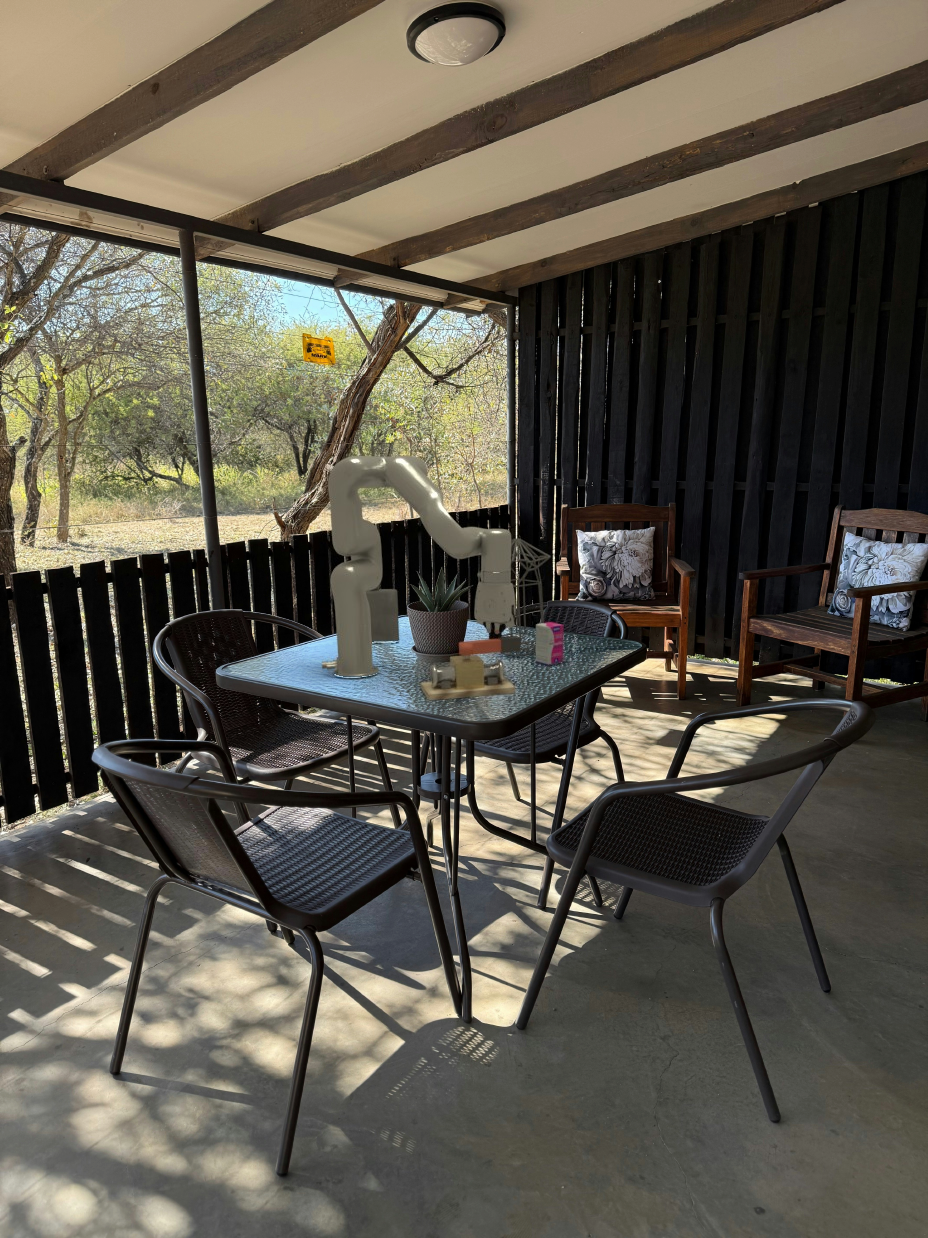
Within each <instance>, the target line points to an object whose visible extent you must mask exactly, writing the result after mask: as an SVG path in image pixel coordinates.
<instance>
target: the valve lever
mask: <svg viewBox="0 0 928 1238" xmlns="http://www.w3.org/2000/svg"><path fill="white" fill-rule="evenodd" d="M520 648H521V647H520V637H519V635H517V636H516V635H513V636H511V635H508V636H503V637H498V639H489V638H488V639H479V640H467V641H460V642H458V654H459V656H463V658H465V659H467V658H470V655H482V654H483V655H484V654H493V653H500V652H501V653H506V654H510V653H516V652H517V653H518V652H519V653H520V652H521V651H522V650H520ZM501 653H500V654H501ZM521 653H522V652H521Z"/></svg>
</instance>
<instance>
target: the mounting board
mask: <svg viewBox="0 0 928 1238" xmlns="http://www.w3.org/2000/svg"><path fill="white" fill-rule="evenodd" d="M450 685H451V689H444V690H441V689H440V687H439V686H437V687H432V685H431V681H426V682H425V681H424V682H420V690H421V691H422V692H423V694H424V695H425V697H426V699H427V700H428V701H437V700H439V701H441V700H450V699H462V698H474V697H475V698H476V697H488V696H498V695H499V696H500V695H508V694H509V695H510V694H516V691H517V690H516V686H515V685H514V684H513V683H512V682H511V681H509V680H508V679H507V678H506V677H505V676H504V680H503V682H498V681H497V685H492V686H488V685H487V684H486V683H485V682H484V688H472V689H460V690H457V689H456V688H455V687H454V686H453V684H452V683H450Z"/></svg>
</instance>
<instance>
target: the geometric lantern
mask: <svg viewBox="0 0 928 1238" xmlns="http://www.w3.org/2000/svg"><path fill="white" fill-rule="evenodd" d="M524 550H525V551H526V553H525V551H524ZM533 550H535V551H536V552H538V553H540V554H542V555H539V556H538V555H537V554H536V553H535V552H534V551H533ZM519 555H522V556H523V558H519ZM528 557H529V558H531V559H532V560H530V559H529V558H528ZM551 557H552V556H551V555H550V554H548V553H545V552H544V551H543V550H540V549H538V548H537V547H535V546H533V545H532V544H530V543H528V542H527V541H525V540H523V539H521V538H517V537H516V538H513V539H511V564H512V563H514V562H518V563H519V565H521V567H523V568H524V569H525V572H524V574H523V575H522V577H521V578H520V577H519V576H518V574H517V573H516V572H515V570H514V569H513V567H511V571H512V572H513V573H514V575H515V576H516V577H517V578H515V579H511V582H513V581H517V582H516V584H517V585H515V584H513V588H516V613H515V632H514V631H513V630H514V629H513V628H514V627H511V628H510V633H509V632H508V633H506V634H502V637H506V636H518V637H520V650H521V651H529V652H526V653H523V654H522V652H519V654H518V652H515V654H510V653H501V652H499V653H500V655H506V656H509V657H516V658H517V657H522V656H528V655H531V654H536V639H534V640H528V641H523V639H524V636H525V635H527V636H531V637H535V638H536V634H533V633H529V632H527V621H526V619H527V618H526V589H525V587H527V586H533V585H534V586H535V585H537V586H538V587H537V588H538V596H539V597H538V599H539V609H540V610H539V611H540V621H541V622H540V624H541V623H545V622H544V619H545V617H544V603H543V601H544V600H543V599H544V598H543V583H542V579H541V574H540V573H541V572H540V569H539V568H540V567H541V566H542V565H543V564H544V563H545V562H547V561H548V560H549V559H550V558H551ZM516 559H517V560H516ZM540 561H541V562H540ZM523 562H524V563H526V564H524V563H523ZM536 562H538V563H537V564H536ZM529 564H530V565H529ZM532 567H533V568H532ZM531 571H534V573H535V576H536V580H530V579H526V576H527V575H528V573H529V572H531ZM537 571H538V572H537ZM521 582H522V584H521ZM525 582H532V583H527V584H525ZM520 587H522V594H523V595H522V599H523V600H522V601H523V602H522V603H523V604H522V605H523V632H522V625H521V609H520V607H521V606H520ZM495 624H496V623H495ZM531 643H535V644H531ZM522 645H526V646H529V647H523V648H521V647H522Z"/></svg>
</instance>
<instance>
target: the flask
mask: <svg viewBox="0 0 928 1238" xmlns="http://www.w3.org/2000/svg"><path fill="white" fill-rule="evenodd" d="M366 596H367V599H368V603H369V607H370V618H371V638H372V642H374V641H398V640H399V641H400V630H399V629H400V628H399V627H400V626H399V625H400V624H399V623H400V622H399V604H398V603H399V602H398V601H399V600H398V590H397V589H394V588H389V589H388V588H386V589H385V588H383V589H382V588H381V589H380V584H379V585H378V586H377V587H376V588H375V589H373V590H371V591H368V592H366Z"/></svg>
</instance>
